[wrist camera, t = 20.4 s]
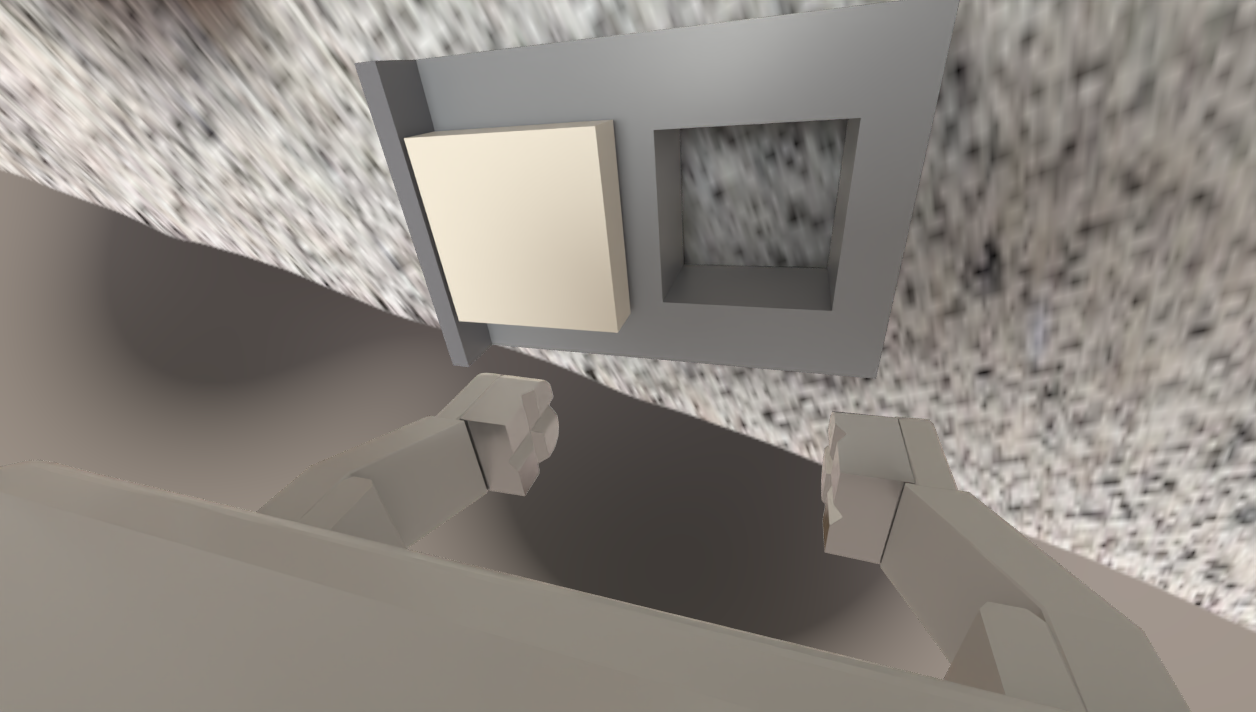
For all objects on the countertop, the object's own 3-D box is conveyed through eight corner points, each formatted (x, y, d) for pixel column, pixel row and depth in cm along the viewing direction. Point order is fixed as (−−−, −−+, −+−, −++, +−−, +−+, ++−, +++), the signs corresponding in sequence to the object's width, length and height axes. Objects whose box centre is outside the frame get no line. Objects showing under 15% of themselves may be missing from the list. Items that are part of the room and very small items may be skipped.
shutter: (612, 119, 19) (595, 126, 17) (630, 313, 23) (618, 332, 22) (433, 131, 21) (403, 138, 20) (480, 304, 26) (458, 321, 24)
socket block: (926, 5, 18) (985, -16, 12) (864, 326, 26) (883, 410, 20) (463, 60, 25) (354, 63, 19) (518, 306, 32) (453, 365, 26)
